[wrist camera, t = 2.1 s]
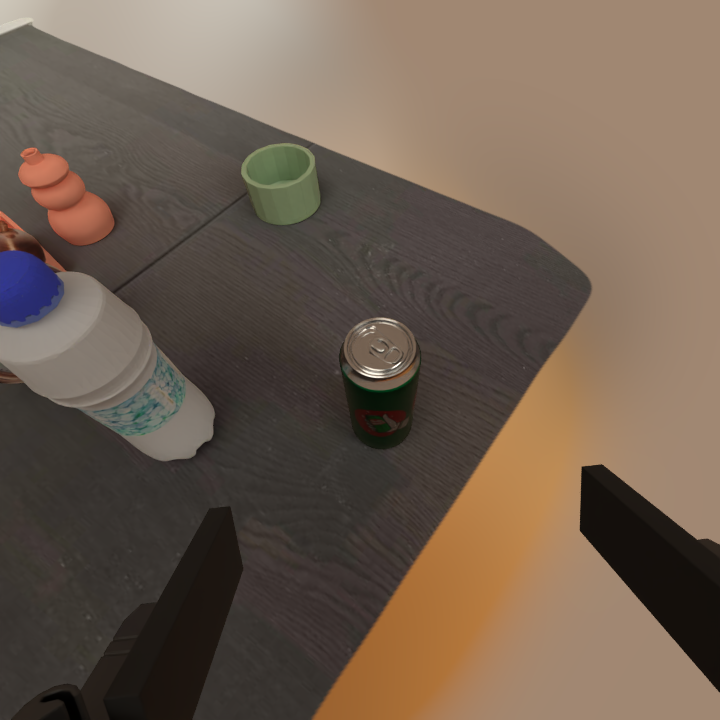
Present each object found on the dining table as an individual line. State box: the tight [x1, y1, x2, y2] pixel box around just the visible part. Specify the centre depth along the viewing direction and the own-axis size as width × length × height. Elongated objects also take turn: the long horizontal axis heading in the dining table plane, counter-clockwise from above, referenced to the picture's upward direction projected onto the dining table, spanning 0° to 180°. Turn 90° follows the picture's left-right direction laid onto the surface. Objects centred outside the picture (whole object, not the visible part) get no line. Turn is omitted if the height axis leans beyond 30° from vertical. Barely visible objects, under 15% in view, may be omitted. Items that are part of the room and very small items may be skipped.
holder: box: [241, 143, 321, 225], centre depth 47 cm, size 8×8×5 cm
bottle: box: [0, 250, 215, 461], centre depth 26 cm, size 7×7×20 cm
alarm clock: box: [0, 220, 62, 384], centre depth 33 cm, size 11×5×15 cm, turn 146°
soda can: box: [339, 317, 421, 449], centre depth 29 cm, size 5×5×12 cm
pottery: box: [0, 148, 114, 272], centre depth 43 cm, size 18×10×10 cm, turn 141°
